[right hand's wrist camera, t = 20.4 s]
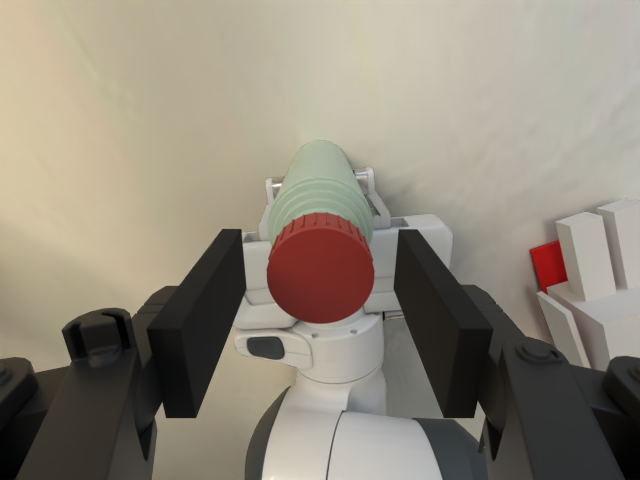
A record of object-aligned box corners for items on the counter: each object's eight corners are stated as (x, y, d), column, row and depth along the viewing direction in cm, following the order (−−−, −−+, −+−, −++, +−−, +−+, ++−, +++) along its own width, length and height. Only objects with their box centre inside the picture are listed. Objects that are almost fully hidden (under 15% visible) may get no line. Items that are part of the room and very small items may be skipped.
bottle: (280, 162, 33) (220, 254, 13) (327, 128, 32) (340, 172, 12) (313, 207, 35) (304, 351, 15) (359, 176, 34) (417, 286, 14)
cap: (369, 208, 14) (377, 224, 12) (369, 298, 15) (375, 323, 13) (267, 212, 14) (259, 228, 12) (276, 302, 15) (270, 327, 14)
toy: (743, 197, 24) (773, 512, 31) (604, 181, 37) (645, 405, 44) (566, 252, 26) (629, 540, 33) (491, 218, 39) (547, 429, 46)
